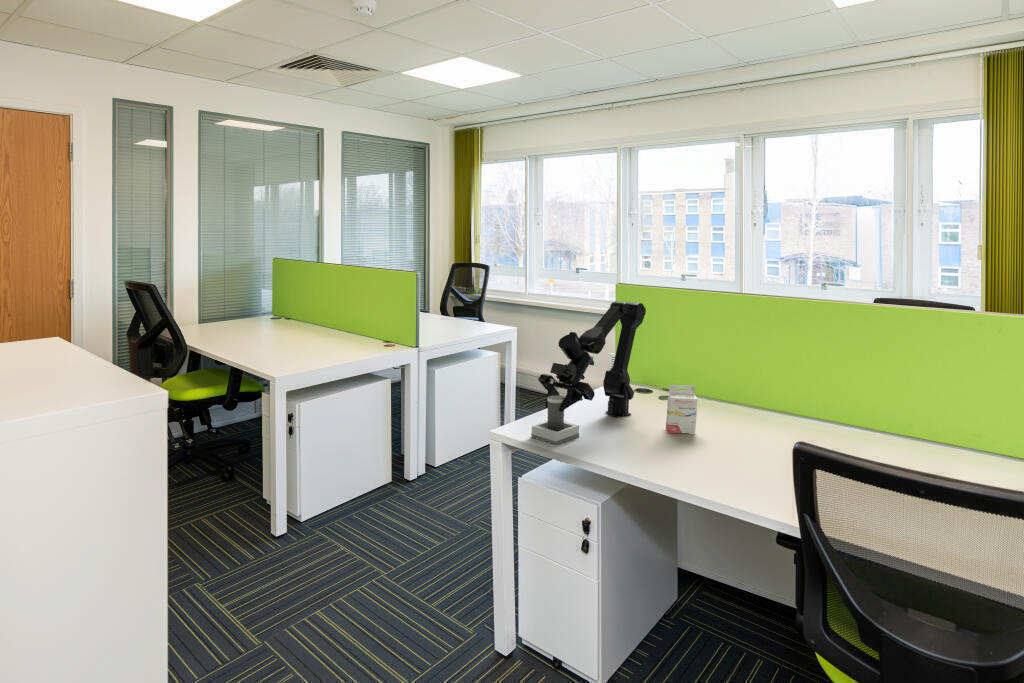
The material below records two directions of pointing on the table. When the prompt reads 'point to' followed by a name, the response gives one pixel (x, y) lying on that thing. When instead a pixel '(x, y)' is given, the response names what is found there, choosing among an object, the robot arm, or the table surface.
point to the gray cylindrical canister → (555, 413)
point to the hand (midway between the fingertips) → (553, 409)
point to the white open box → (555, 433)
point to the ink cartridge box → (681, 409)
